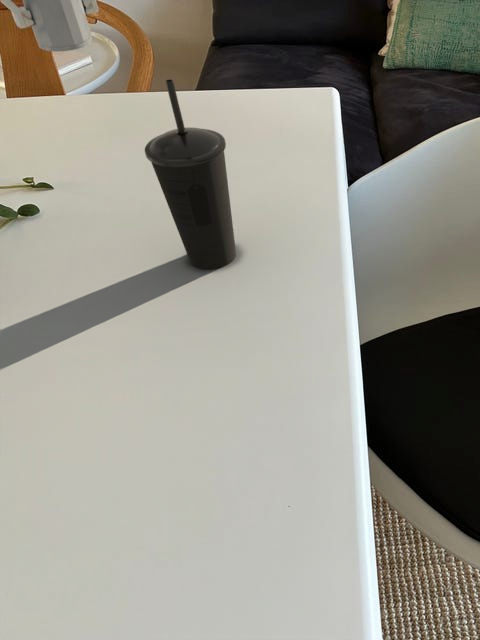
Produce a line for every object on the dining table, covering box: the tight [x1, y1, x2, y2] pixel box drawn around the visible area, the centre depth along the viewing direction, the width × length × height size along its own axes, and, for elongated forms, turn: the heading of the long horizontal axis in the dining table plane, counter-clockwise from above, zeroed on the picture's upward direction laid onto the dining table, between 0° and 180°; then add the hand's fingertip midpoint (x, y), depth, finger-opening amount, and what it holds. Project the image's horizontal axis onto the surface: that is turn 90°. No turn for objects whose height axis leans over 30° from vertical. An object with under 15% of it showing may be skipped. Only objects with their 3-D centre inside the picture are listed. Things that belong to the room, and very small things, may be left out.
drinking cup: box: [144, 78, 237, 271], centre depth 79 cm, size 8×8×20 cm
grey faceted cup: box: [22, 0, 94, 53], centre depth 88 cm, size 6×6×7 cm
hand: (59, 19), depth 88 cm, fingers closed on grey faceted cup, 6 cm apart
